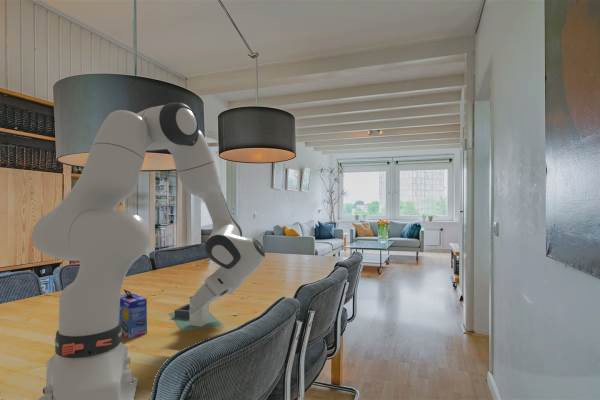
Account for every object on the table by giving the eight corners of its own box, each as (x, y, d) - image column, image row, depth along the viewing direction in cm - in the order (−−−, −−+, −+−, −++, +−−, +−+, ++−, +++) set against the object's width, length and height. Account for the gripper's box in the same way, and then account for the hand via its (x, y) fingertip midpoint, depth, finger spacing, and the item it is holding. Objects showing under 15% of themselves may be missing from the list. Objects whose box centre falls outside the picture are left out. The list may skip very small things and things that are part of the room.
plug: (208, 322, 116) (209, 294, 116) (201, 326, 111) (202, 298, 111) (196, 320, 117) (197, 293, 117) (189, 325, 112) (189, 297, 112)
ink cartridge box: (114, 335, 107) (115, 288, 107) (132, 331, 111) (133, 285, 111) (129, 344, 100) (130, 293, 101) (147, 338, 105) (148, 290, 105)
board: (222, 329, 113) (223, 316, 113) (181, 336, 107) (182, 323, 107) (204, 311, 131) (204, 301, 131) (168, 317, 125) (168, 306, 125)
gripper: (233, 267, 123) (208, 292, 125) (204, 278, 103) (174, 309, 105) (245, 280, 122) (219, 306, 124) (218, 294, 102) (187, 325, 104)
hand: (198, 307), depth 114 cm, fingers open, 8 cm apart
